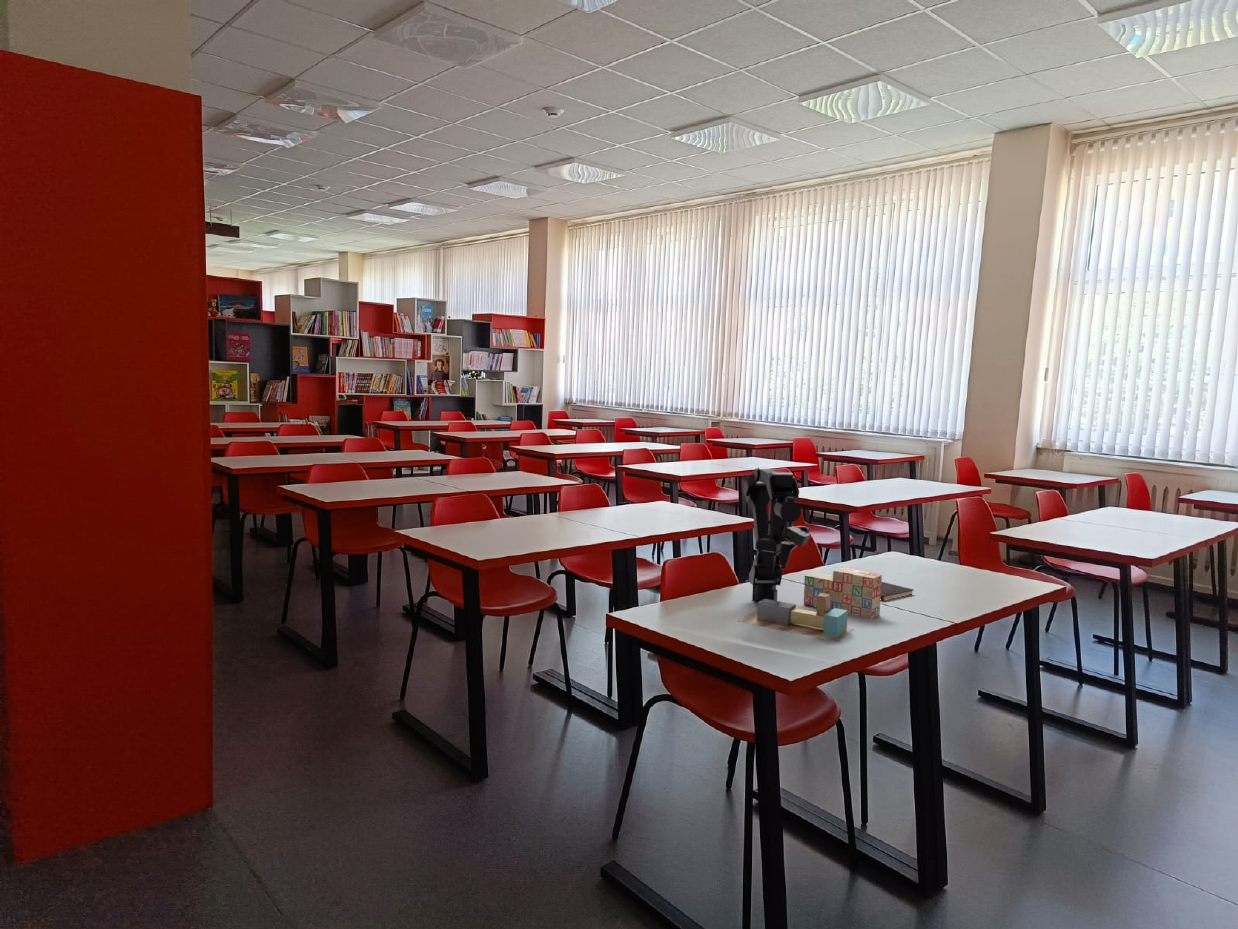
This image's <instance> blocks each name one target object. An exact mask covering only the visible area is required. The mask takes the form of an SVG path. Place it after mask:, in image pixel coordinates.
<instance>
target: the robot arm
mask: <svg viewBox="0 0 1238 929" xmlns="http://www.w3.org/2000/svg"><path fill="white" fill-rule="evenodd" d="M799 495H800V489H799V485H798V483H797V479H796V476H794V474H793V473H792V472H778V471H776V470H773V468H770V467H757V468H755V469H754V471H753V473H752V474H751V475H750V476H748V477H747V478H746V480H745V482H744V485H743V496H744V497H745V502H746V505H748V507H749V508H750V509H751V511H752V519H753V526H754V527H753V528H754V536H755V544H754V546H755V547H754V548H755V550H756V555H755V558H754V560H753V562H752V566H751V569H750V571H749V574H748V583H749V584H751V585H752V594H751V598H752V600H751V601H754V602H756V603H758V602H760V601H762V600H764V599H769V600H775V601H778V589H777V586H781V583H782V579H783V578H782V577H783V574H784V571H783V570H784V569H786V568H787V565H788V563H789V559H790V555H791V554H792V551H793V550H794V549H795V548H797V547H803V546H806V545H807V543H808V541H809V539H810V540H811V533H810V527H808V526H806V525H804V526H801V528H800V527H796V526H794V523H795V522H797V520H799V518H800V517H801V514H802V510H801V506H800V505H799V504H798V503H797V502H795V499H799ZM768 505H769V511H768Z"/></svg>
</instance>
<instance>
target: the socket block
mask: <svg viewBox="0 0 1238 929" xmlns="http://www.w3.org/2000/svg"><path fill="white" fill-rule="evenodd" d="M847 613H848V610H842V609H837V608H834V609H832V610H831V611H829V612H828V613H826V614H825V615H824V632H823V635H825V636H830V637H835V638H837V637H838V636H840V635H841V634H843V633H844V632H845V631H847V628H848V614H847Z"/></svg>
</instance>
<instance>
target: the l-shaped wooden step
mask: <svg viewBox="0 0 1238 929" xmlns="http://www.w3.org/2000/svg"><path fill="white" fill-rule="evenodd" d="M829 611H830V594H824V593H821V594H819V595H817V608H816V611H811V610H807V609H801V608H797V607H796V608H792V609H790V614H789V622H790V623H795V624H800V625H806V626H811V627H816V628H821V629H824V615H825V614H826V613H828V612H829Z"/></svg>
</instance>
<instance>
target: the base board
mask: <svg viewBox="0 0 1238 929" xmlns="http://www.w3.org/2000/svg"><path fill="white" fill-rule="evenodd" d="M737 622H740V623H744V624H749V625H750V624H751V625H755V626H760V627H764V628H768V629H769V628H770V629H775V630H778V631H779V630H780V631H785V632H790V633H794V634H800V635H803V636H809V637H815V638H819V639H824V640H831V641H835V642H840V641H841V640H842V639H844V638H845V637H846V636H848V635H849V634H850V633H852V632H853V631H854V630H855V628H851V627H847V631H845V632H844V633H843V634H841V635H840V636H838V637H837V638H835V637H830V636H825V635H823V632H824V629H821V628H816V627H811V626H806V625H800V624H795V623H793V624H791V625H790V626H783V625H778V624H773V623H768V622H763V621H758V620H757V610H756V611H754V612H752V613H750V614H748V615H746V616H744V617H743V618H740V619H738V620H737Z"/></svg>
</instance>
